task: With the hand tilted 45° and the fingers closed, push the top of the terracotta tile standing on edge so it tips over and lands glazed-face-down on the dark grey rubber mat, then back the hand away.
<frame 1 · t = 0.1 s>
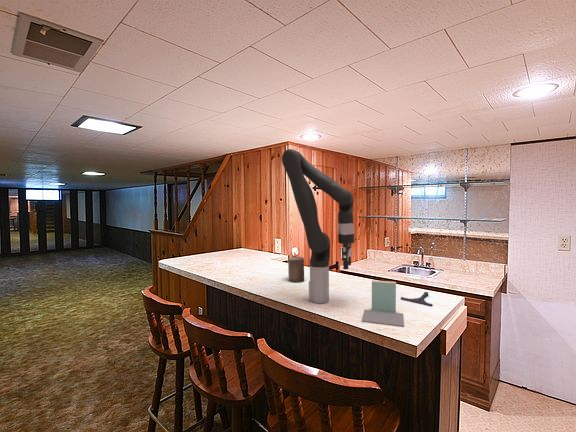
hand: (347, 267, 141), 17 cm above the table, tool pointing down, fingers open, 8 cm apart
pillar candle: (296, 280, 183), on the table
mat: (382, 318, 124), on the table
bracket: (421, 300, 147), on the table
tile: (383, 310, 132), on the table
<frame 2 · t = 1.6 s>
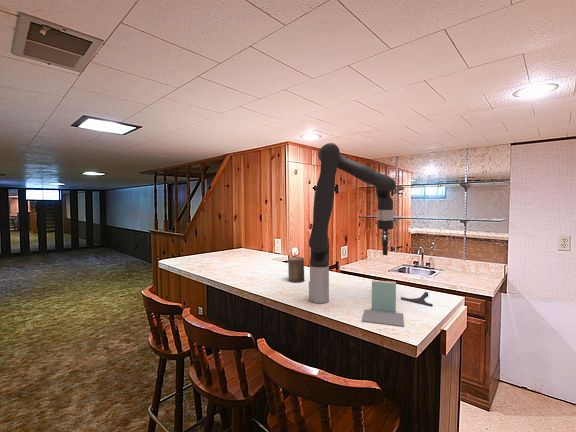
hand: (385, 254, 147), 22 cm above the table, tool pointing down, fingers open, 3 cm apart
nothing on the table moved.
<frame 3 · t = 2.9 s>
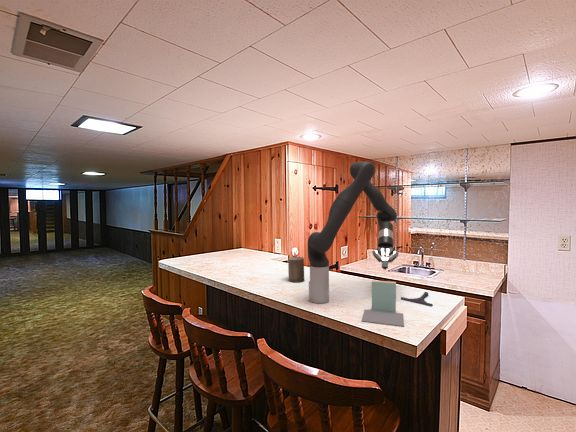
hand: (384, 268, 144), 16 cm above the table, tool tilted 45°, fingers closed
nothing on the table moved.
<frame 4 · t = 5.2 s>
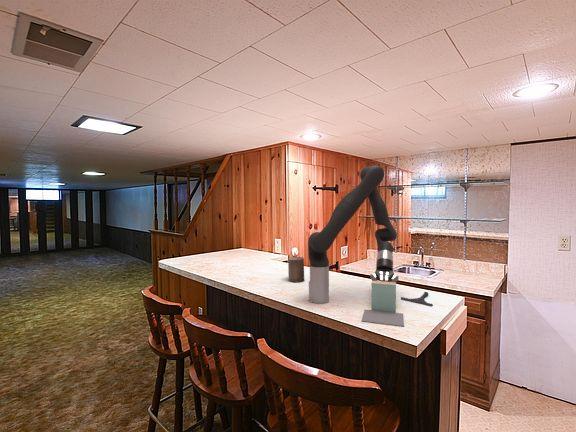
hand: (383, 294, 133), 7 cm above the table, tool tilted 45°, fingers closed
tile: (383, 310, 132), on the table, tilted 8°
everything else where it was.
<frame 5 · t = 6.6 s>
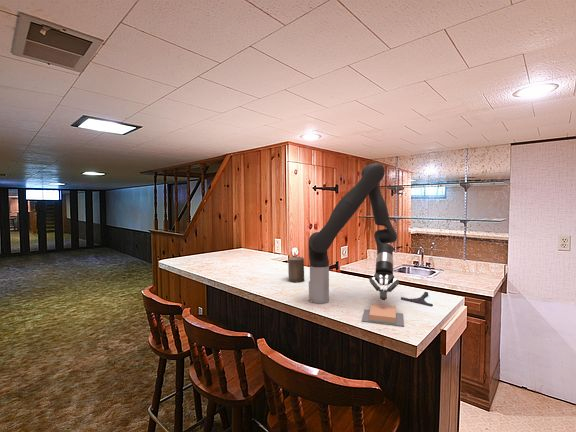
hand: (383, 299, 127), 7 cm above the table, tool tilted 45°, fingers closed
tile: (383, 308, 131), point 2 cm above the table, tilted 90°, touching mat
everything else where it was.
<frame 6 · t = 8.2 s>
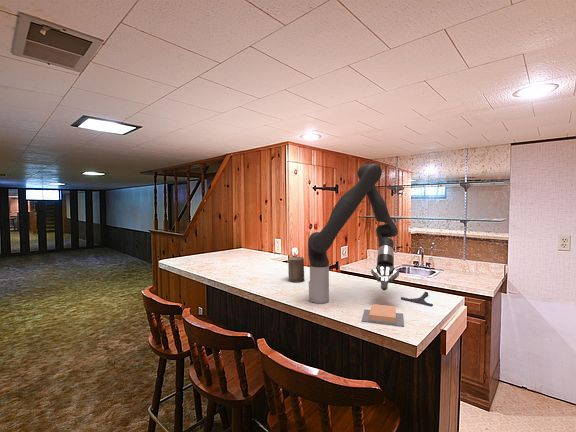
hand: (384, 289, 134), 9 cm above the table, tool tilted 45°, fingers closed
nothing on the table moved.
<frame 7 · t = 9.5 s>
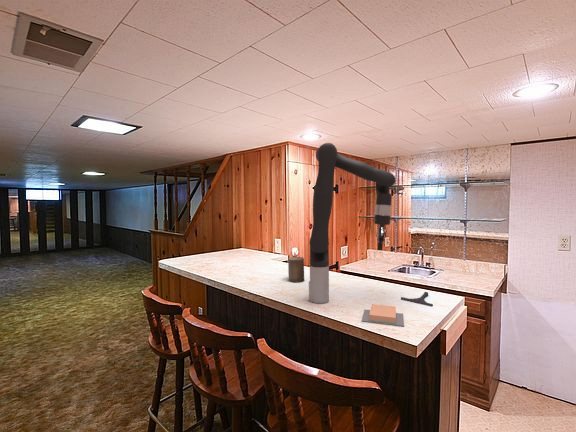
hand: (379, 250, 146), 24 cm above the table, tool pointing down, fingers closed
nothing on the table moved.
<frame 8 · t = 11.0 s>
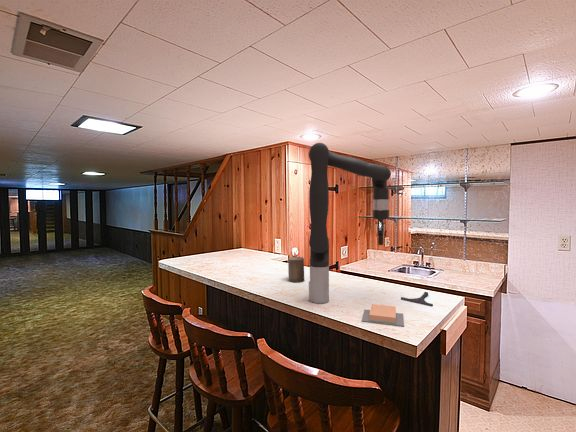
hand: (380, 244, 145), 27 cm above the table, tool pointing down, fingers closed
nothing on the table moved.
at the end: tile tilted 90°; tile inside the target area (5.8 cm from its centre), point 1.6 cm above the table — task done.
